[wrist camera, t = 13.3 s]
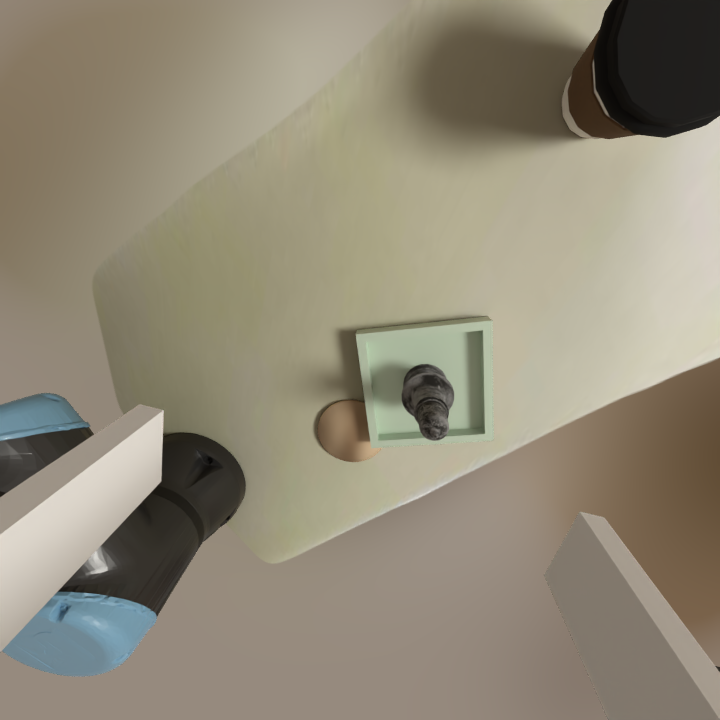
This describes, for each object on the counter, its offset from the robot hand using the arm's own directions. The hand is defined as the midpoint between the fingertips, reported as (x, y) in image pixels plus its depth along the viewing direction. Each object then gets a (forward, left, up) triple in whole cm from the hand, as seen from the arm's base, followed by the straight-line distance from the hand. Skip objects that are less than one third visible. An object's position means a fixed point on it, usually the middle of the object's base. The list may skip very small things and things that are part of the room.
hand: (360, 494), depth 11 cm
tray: (+4, -10, -32) cm, 33 cm away
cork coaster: (-6, -16, -32) cm, 36 cm away
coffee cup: (+21, +17, -32) cm, 42 cm away
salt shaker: (+4, -10, -31) cm, 33 cm away
